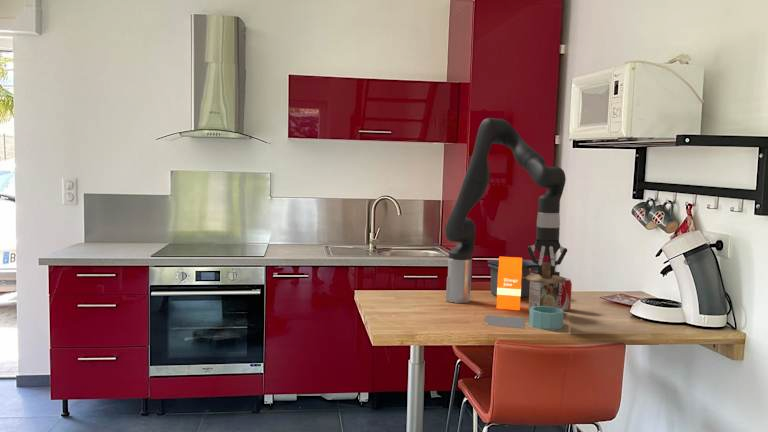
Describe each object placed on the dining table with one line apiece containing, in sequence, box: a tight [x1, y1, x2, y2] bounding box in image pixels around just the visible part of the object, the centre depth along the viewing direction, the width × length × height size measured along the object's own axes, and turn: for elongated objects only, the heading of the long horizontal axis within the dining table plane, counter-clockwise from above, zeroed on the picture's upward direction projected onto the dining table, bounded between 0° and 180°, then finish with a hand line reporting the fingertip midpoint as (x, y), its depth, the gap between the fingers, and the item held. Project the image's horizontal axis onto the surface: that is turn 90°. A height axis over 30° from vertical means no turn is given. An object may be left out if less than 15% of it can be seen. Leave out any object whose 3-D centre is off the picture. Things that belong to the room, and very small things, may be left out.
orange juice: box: [495, 256, 523, 311], centre depth 244 cm, size 8×9×20 cm
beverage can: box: [558, 277, 573, 312], centre depth 245 cm, size 6×6×12 cm
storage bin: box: [487, 259, 538, 298], centre depth 268 cm, size 21×16×14 cm
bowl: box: [528, 306, 565, 331], centre depth 219 cm, size 11×11×6 cm
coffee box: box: [528, 270, 561, 312], centre depth 237 cm, size 9×6×16 cm
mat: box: [483, 314, 526, 329], centre depth 223 cm, size 14×14×1 cm
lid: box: [526, 261, 567, 284], centre depth 217 cm, size 13×13×6 cm
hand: (546, 276), depth 217 cm, fingers closed on lid, 2 cm apart
